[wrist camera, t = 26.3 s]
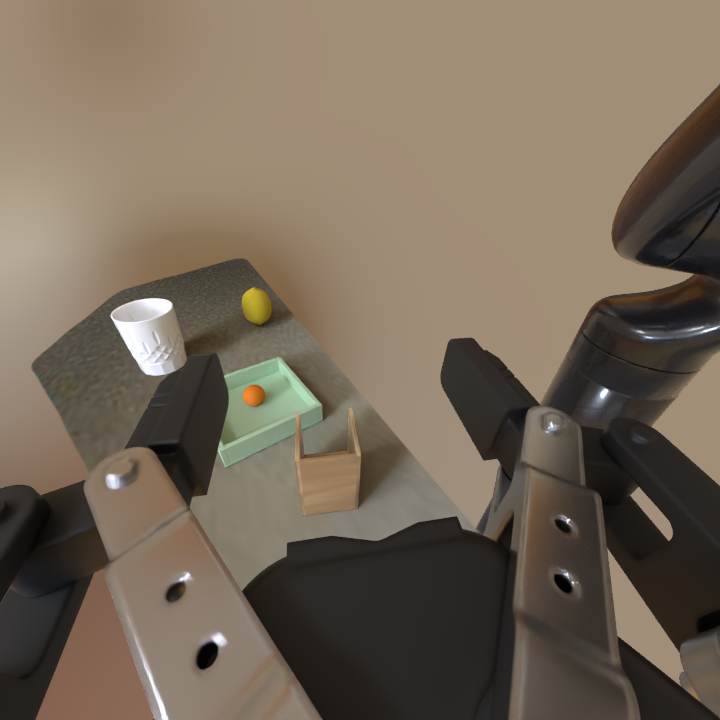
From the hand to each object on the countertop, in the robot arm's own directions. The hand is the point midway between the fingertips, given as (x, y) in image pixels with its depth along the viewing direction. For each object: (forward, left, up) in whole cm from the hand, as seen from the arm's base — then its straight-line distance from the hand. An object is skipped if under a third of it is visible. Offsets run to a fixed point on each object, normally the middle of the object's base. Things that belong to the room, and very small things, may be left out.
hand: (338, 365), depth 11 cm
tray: (-3, -25, -25) cm, 36 cm away
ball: (-3, -27, -23) cm, 36 cm away
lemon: (-13, -48, -26) cm, 56 cm away
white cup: (+5, -44, -26) cm, 51 cm away
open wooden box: (-5, -10, -25) cm, 28 cm away
